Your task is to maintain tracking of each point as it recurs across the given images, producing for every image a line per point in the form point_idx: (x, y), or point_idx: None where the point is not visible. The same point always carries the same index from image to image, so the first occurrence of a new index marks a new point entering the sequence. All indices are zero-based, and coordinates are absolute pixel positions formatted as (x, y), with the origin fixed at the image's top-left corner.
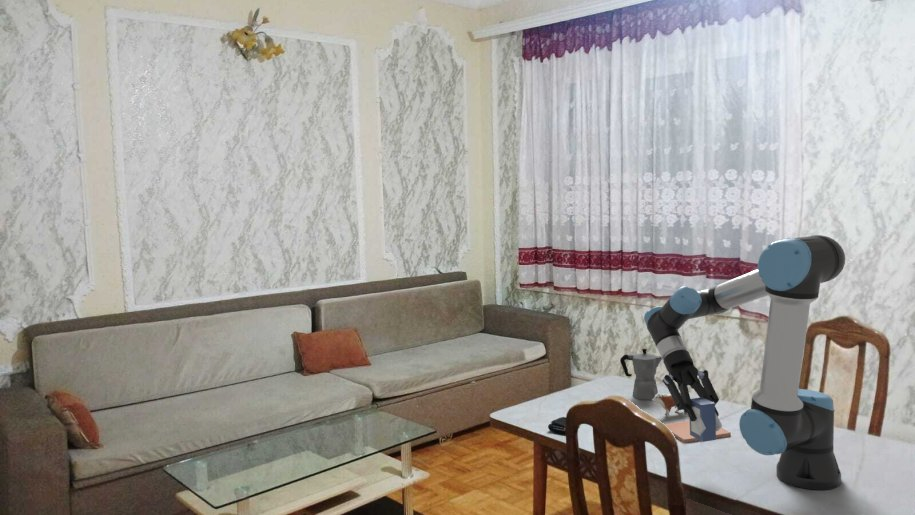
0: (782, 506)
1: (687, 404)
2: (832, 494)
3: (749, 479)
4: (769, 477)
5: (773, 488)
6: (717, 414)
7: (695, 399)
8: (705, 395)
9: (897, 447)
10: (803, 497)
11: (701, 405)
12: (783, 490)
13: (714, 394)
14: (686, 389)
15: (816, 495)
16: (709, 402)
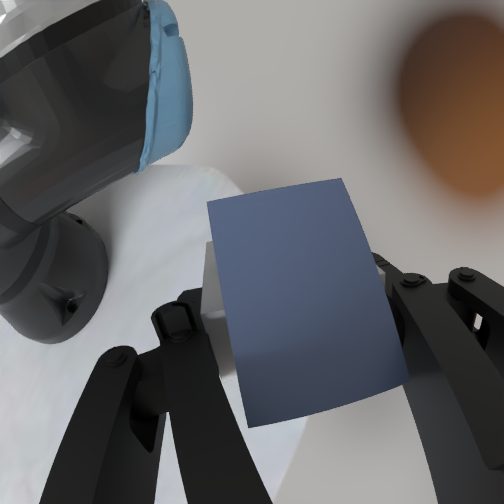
0: (181, 168)
1: (431, 284)
2: (70, 207)
3: (171, 295)
4: (119, 298)
5: (146, 240)
6: (189, 292)
7: (351, 356)
8: (215, 389)
9: None
10: (120, 198)
11: (340, 182)
12: (133, 229)
13: (101, 399)
14: (482, 406)
15: (95, 205)
16: (245, 229)
